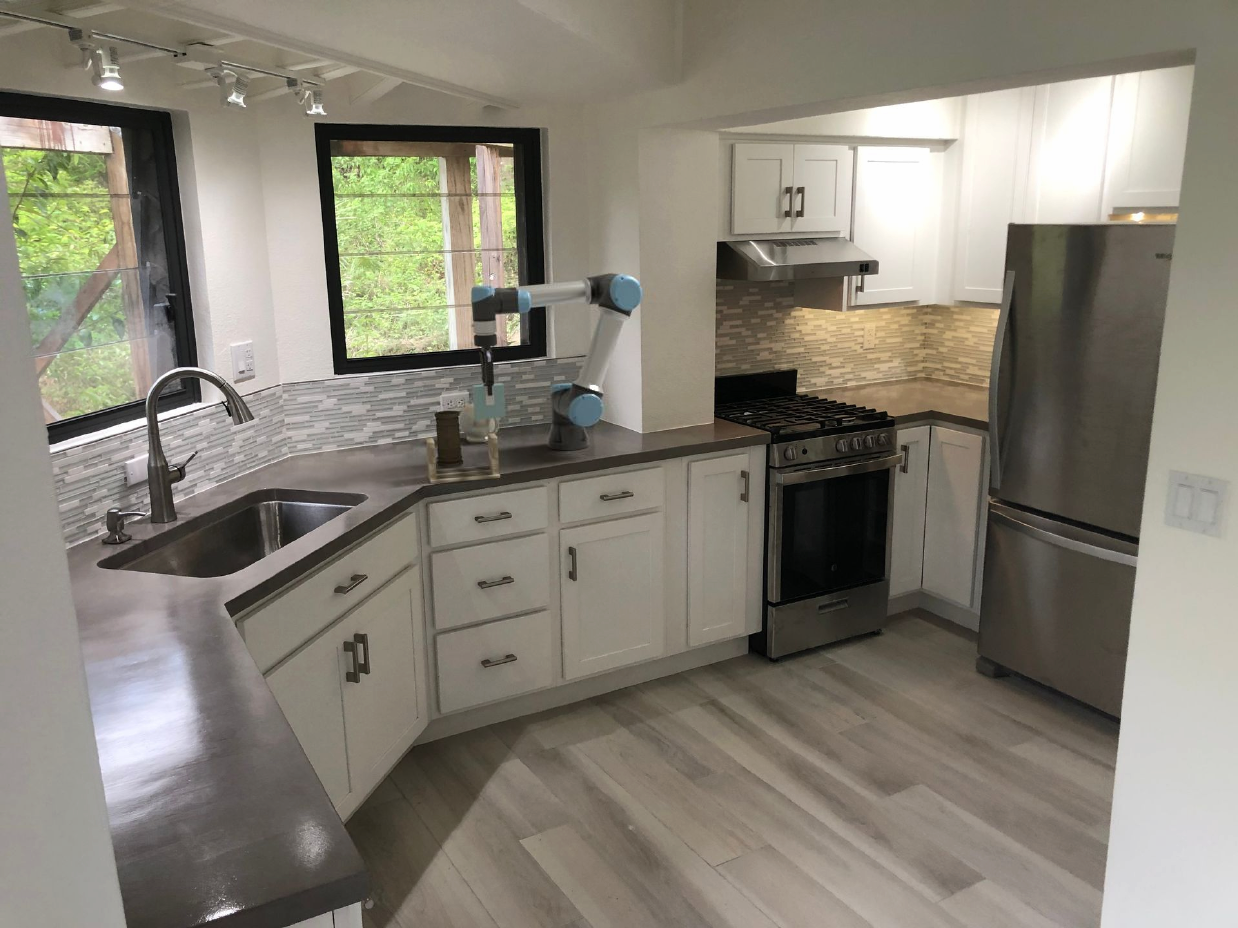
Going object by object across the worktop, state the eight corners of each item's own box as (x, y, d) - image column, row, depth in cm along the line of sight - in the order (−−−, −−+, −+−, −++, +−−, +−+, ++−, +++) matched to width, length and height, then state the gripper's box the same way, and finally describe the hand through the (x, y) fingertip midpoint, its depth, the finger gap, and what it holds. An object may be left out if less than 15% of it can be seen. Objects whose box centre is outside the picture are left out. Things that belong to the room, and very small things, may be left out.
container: (458, 468, 325) (455, 415, 321) (432, 467, 327) (429, 414, 322) (467, 461, 333) (464, 410, 329) (442, 460, 335) (439, 409, 331)
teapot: (451, 441, 364) (448, 398, 360) (476, 435, 375) (474, 393, 371) (486, 447, 354) (484, 403, 350) (511, 440, 364) (509, 397, 360)
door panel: (503, 415, 328) (502, 383, 326) (505, 417, 325) (503, 384, 322) (474, 417, 326) (472, 385, 323) (475, 419, 323) (473, 387, 320)
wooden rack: (494, 469, 322) (493, 432, 319) (500, 477, 312) (498, 438, 309) (427, 475, 317) (425, 436, 313) (431, 483, 306) (428, 444, 303)
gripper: (470, 331, 325) (474, 400, 331) (477, 337, 310) (481, 409, 316) (492, 330, 327) (496, 398, 333) (500, 335, 312) (504, 407, 318)
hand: (489, 403), depth 324 cm, fingers closed on door panel, 3 cm apart
